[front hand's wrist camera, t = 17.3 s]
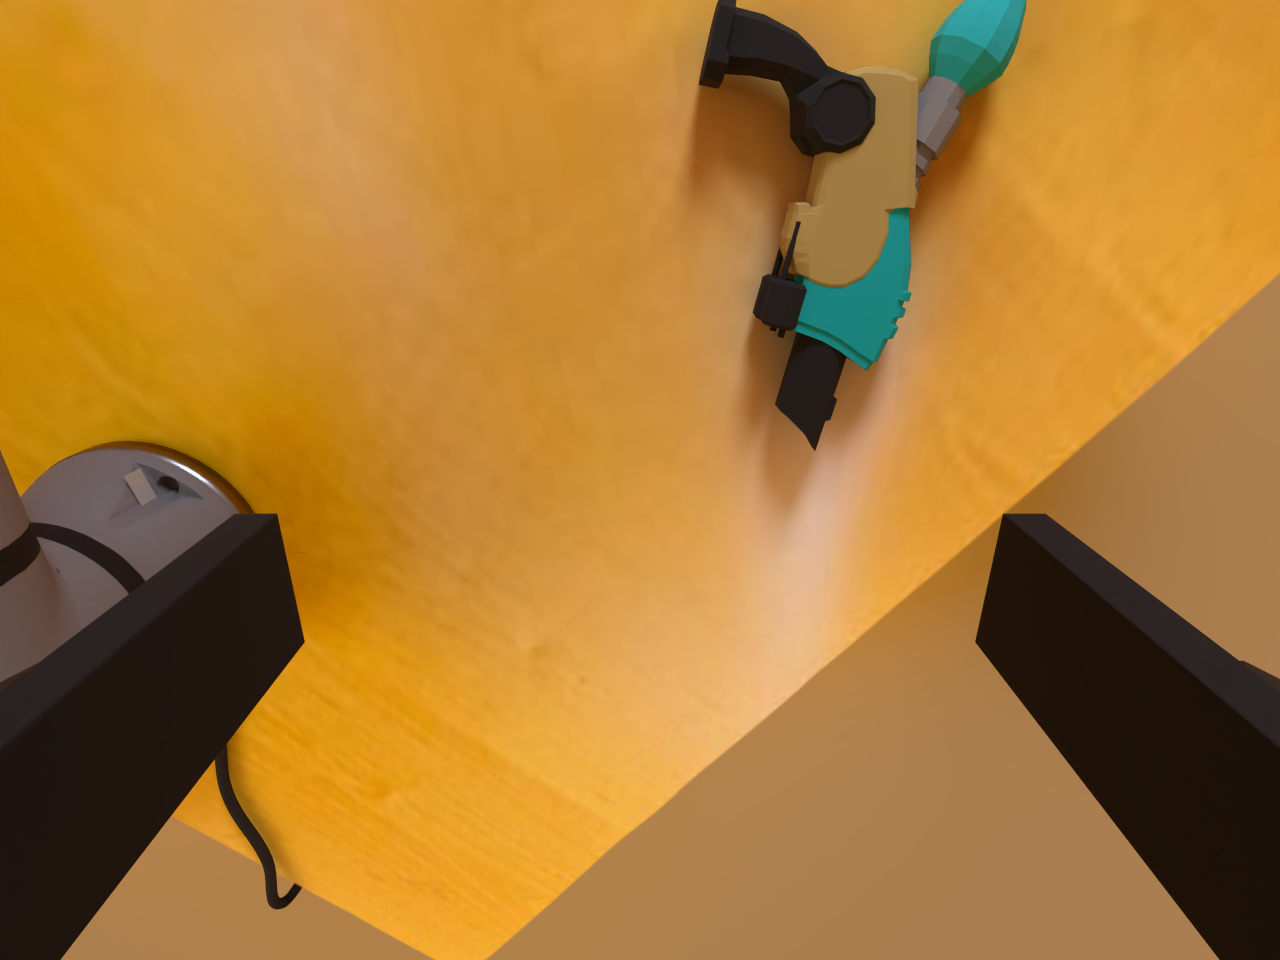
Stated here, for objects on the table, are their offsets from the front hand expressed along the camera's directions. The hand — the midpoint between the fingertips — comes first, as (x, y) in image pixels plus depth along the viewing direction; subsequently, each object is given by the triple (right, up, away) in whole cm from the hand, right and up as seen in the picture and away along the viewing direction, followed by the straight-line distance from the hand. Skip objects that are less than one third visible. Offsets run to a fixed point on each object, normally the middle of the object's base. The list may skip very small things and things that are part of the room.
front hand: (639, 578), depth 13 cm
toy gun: (+9, +17, +27) cm, 33 cm away
